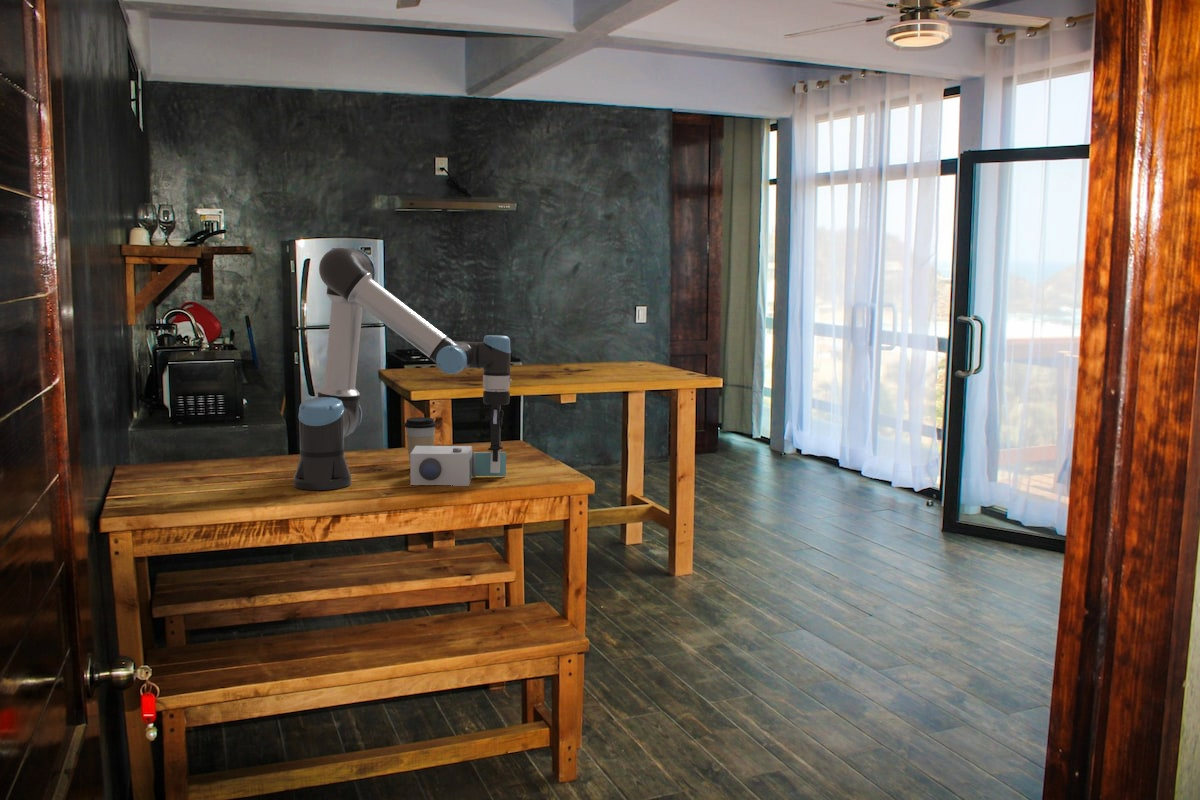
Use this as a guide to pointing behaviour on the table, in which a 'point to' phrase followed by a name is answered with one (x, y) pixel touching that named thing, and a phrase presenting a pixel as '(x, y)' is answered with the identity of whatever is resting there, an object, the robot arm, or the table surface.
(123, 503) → the table surface
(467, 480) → the cabinet body
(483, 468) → the side door
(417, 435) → the coffee cup
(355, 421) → the robot arm
